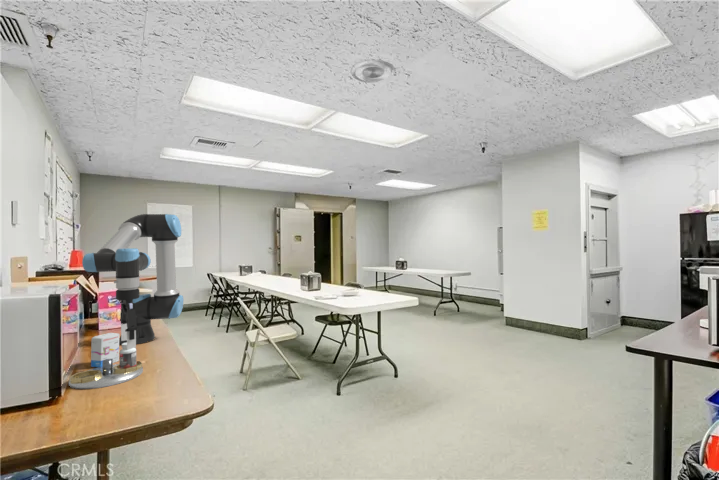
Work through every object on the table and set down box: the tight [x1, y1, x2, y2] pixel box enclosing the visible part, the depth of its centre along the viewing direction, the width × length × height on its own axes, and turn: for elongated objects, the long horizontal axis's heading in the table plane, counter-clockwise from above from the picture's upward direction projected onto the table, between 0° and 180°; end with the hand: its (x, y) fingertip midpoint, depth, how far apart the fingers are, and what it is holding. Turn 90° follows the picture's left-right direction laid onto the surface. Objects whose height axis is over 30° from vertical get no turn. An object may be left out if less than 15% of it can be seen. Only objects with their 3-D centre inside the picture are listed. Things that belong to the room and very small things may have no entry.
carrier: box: [68, 359, 144, 390], centre depth 128 cm, size 22×22×6 cm
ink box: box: [90, 332, 120, 368], centre depth 142 cm, size 9×5×12 cm, turn 168°
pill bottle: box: [119, 342, 137, 368], centre depth 132 cm, size 5×5×10 cm
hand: (128, 344), depth 133 cm, fingers open, 13 cm apart
